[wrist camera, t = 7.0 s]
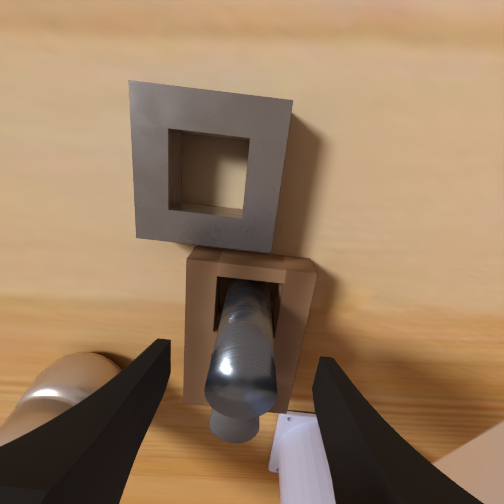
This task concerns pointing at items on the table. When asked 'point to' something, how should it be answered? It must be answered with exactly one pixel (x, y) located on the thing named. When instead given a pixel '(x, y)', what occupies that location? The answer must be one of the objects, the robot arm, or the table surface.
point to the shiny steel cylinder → (243, 353)
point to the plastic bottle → (58, 391)
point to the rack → (208, 319)
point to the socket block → (170, 155)
